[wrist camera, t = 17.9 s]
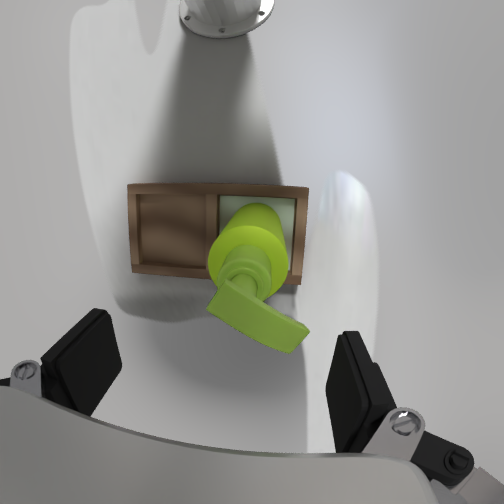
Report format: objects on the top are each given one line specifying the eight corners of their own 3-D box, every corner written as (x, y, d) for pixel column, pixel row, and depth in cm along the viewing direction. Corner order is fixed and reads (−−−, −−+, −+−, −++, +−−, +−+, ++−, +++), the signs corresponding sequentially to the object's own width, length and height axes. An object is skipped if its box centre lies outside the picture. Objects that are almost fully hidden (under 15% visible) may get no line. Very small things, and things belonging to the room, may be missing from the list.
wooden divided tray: (135, 183, 34) (115, 186, 29) (306, 187, 33) (312, 190, 28) (139, 267, 37) (121, 280, 32) (299, 278, 36) (303, 295, 31)
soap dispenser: (270, 265, 34) (269, 381, 15) (221, 234, 34) (163, 321, 14) (298, 226, 33) (336, 308, 14) (248, 192, 32) (217, 232, 13)
